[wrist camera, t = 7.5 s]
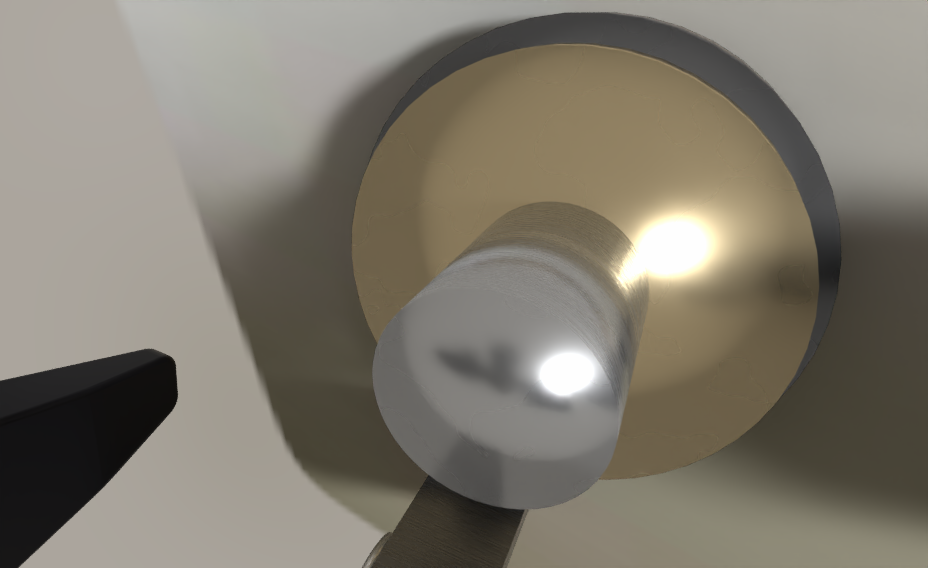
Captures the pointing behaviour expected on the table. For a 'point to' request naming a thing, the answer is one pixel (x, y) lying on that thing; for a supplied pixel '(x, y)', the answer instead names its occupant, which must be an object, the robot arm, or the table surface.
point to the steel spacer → (518, 358)
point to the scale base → (497, 529)
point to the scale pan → (625, 205)
